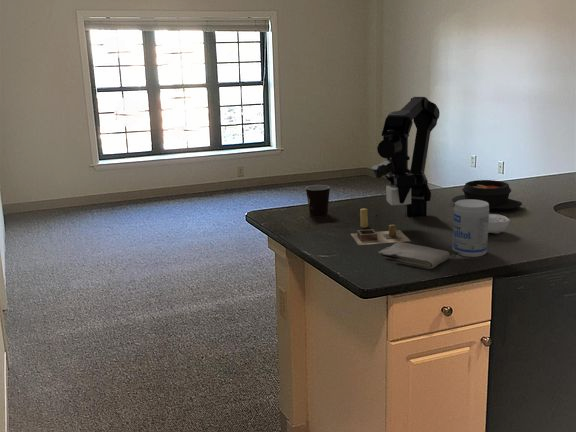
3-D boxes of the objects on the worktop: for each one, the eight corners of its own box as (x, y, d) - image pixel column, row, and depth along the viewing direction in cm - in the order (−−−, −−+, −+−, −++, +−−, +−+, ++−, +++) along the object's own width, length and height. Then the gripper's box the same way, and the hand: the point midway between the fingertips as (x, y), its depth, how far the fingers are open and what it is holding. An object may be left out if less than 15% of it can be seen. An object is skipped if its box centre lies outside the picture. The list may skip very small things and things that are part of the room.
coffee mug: (328, 217, 226) (328, 190, 223) (304, 217, 227) (303, 190, 225) (333, 209, 237) (332, 183, 234) (310, 209, 238) (309, 183, 236)
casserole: (530, 205, 229) (531, 183, 227) (508, 217, 216) (509, 193, 214) (466, 197, 245) (466, 175, 243) (442, 207, 232) (442, 185, 230)
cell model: (501, 240, 192) (502, 218, 191) (464, 233, 200) (464, 213, 198) (514, 231, 200) (515, 211, 198) (478, 226, 207) (478, 206, 206)
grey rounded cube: (405, 199, 209) (405, 184, 208) (411, 203, 203) (411, 188, 202) (386, 200, 208) (386, 185, 207) (391, 205, 202) (391, 190, 201)
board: (399, 233, 203) (399, 219, 202) (410, 244, 192) (410, 229, 190) (350, 237, 202) (350, 223, 200) (358, 248, 190) (358, 233, 189)
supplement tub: (446, 254, 182) (447, 204, 178) (461, 245, 189) (462, 197, 185) (478, 260, 176) (480, 208, 172) (492, 251, 183) (494, 201, 179)
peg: (366, 228, 210) (366, 208, 208) (368, 230, 208) (368, 210, 206) (359, 229, 210) (359, 208, 208) (361, 231, 208) (361, 210, 206)
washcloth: (396, 248, 190) (396, 238, 189) (452, 259, 179) (452, 248, 178) (375, 260, 181) (375, 249, 181) (432, 271, 170) (433, 260, 170)
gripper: (367, 150, 210) (367, 196, 214) (381, 159, 192) (381, 209, 196) (400, 147, 211) (400, 193, 215) (417, 157, 193) (416, 207, 197)
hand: (398, 200), depth 206 cm, fingers closed on grey rounded cube, 6 cm apart
